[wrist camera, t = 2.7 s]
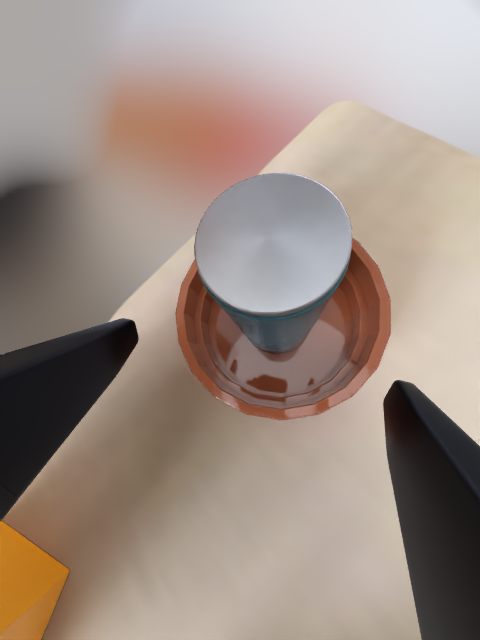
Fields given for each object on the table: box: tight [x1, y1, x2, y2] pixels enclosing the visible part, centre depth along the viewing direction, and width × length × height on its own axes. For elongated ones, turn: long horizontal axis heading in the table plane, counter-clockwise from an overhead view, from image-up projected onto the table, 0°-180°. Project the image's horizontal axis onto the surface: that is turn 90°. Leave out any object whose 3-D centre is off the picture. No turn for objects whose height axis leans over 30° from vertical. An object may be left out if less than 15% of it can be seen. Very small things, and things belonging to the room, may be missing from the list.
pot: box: [176, 238, 391, 420], centre depth 17 cm, size 13×13×4 cm
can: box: [194, 173, 352, 354], centre depth 13 cm, size 5×5×12 cm
